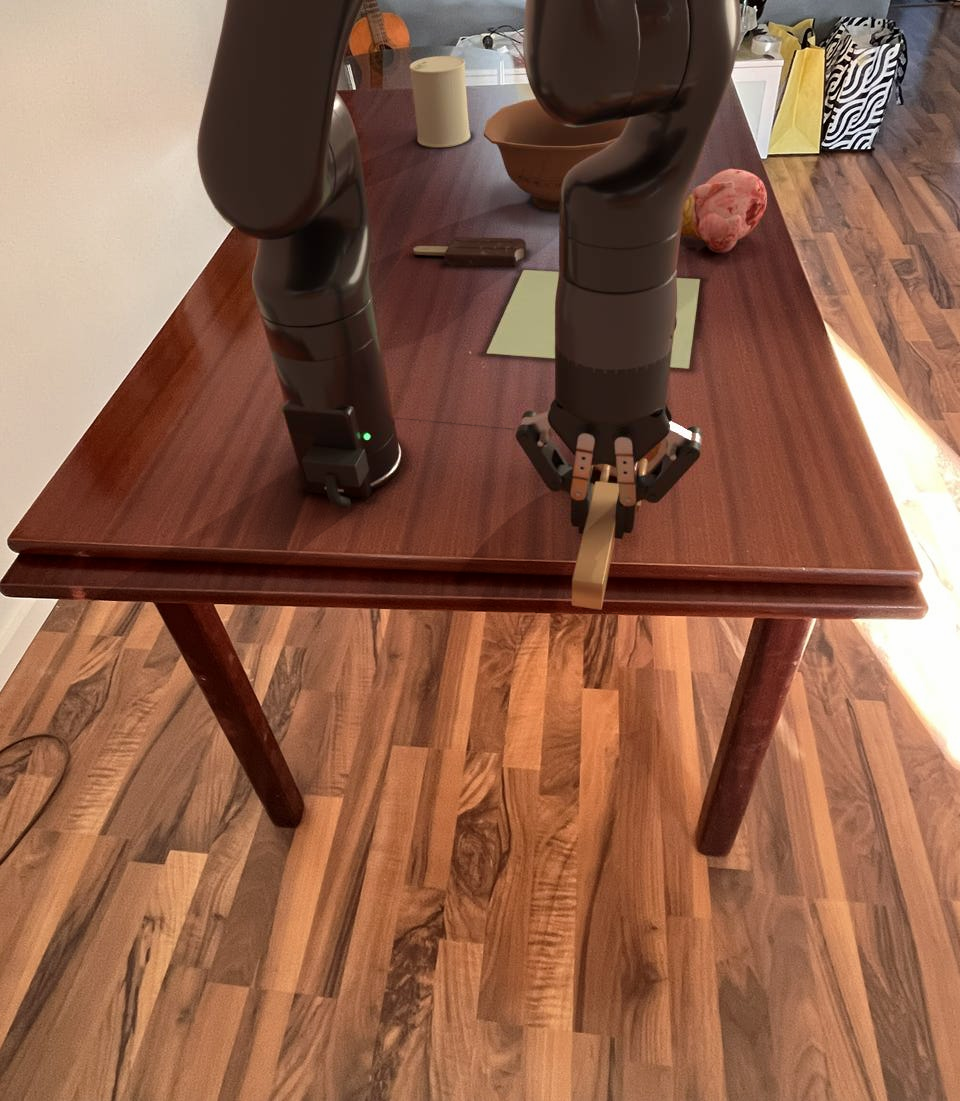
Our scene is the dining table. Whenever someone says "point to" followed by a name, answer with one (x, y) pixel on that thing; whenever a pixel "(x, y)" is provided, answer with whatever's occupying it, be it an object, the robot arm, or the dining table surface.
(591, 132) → the bowl
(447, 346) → the dining table surface
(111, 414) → the dining table surface
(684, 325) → the placemat
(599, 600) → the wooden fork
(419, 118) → the can
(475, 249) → the ice cream bar
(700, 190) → the ice cream
